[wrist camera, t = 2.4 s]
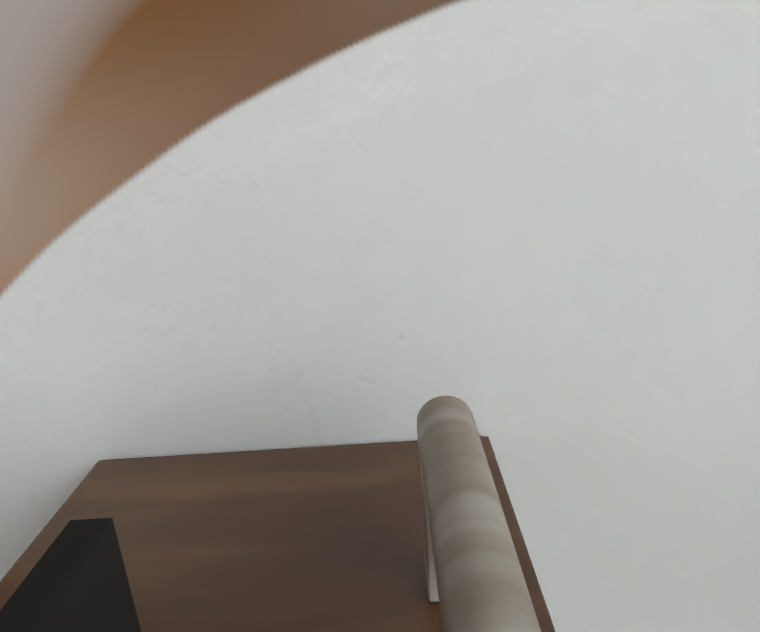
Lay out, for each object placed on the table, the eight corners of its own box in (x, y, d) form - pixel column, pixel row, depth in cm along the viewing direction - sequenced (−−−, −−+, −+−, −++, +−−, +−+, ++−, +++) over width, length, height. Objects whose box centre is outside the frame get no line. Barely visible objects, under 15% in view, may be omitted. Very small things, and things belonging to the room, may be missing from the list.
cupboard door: (66, 336, 24) (-1119, 1164, 5) (487, 307, 23) (928, 1083, 5) (104, 479, 26) (-620, 1430, 7) (488, 455, 25) (792, 1390, 7)
